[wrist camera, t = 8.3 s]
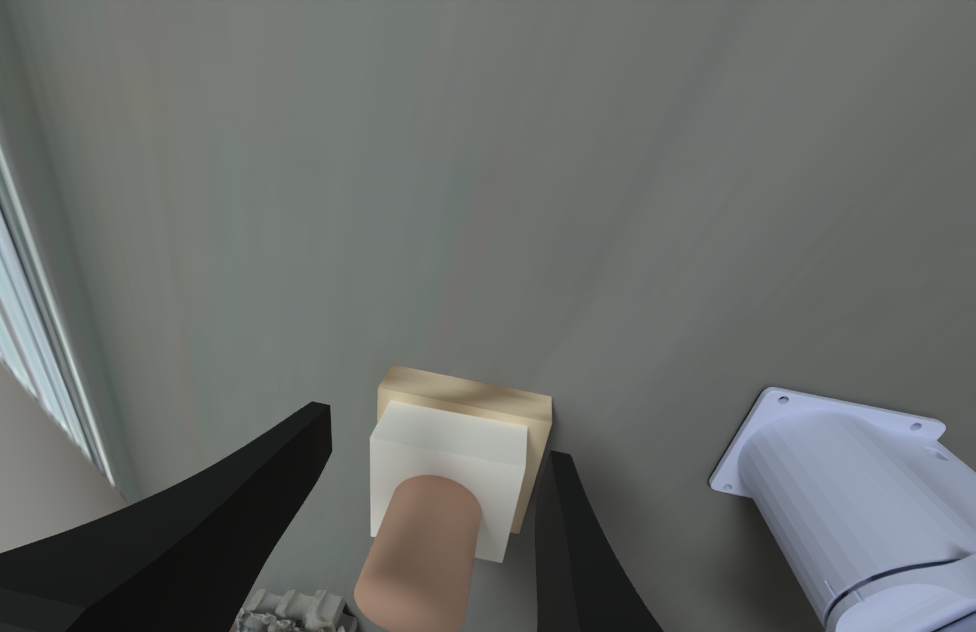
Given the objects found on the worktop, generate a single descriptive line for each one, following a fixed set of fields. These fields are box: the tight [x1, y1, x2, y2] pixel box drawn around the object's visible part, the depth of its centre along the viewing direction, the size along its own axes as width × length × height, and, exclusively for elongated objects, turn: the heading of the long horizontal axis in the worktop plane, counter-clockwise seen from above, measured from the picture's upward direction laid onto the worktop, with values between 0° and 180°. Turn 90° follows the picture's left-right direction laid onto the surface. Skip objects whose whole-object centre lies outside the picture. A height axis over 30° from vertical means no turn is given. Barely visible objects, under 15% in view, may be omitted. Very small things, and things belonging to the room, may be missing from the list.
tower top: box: [370, 401, 528, 563], centre depth 23 cm, size 8×8×3 cm
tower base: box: [377, 365, 552, 534], centre depth 26 cm, size 10×10×3 cm
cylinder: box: [354, 475, 481, 632], centre depth 20 cm, size 5×5×5 cm
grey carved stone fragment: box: [236, 589, 358, 632], centre depth 38 cm, size 11×8×4 cm
